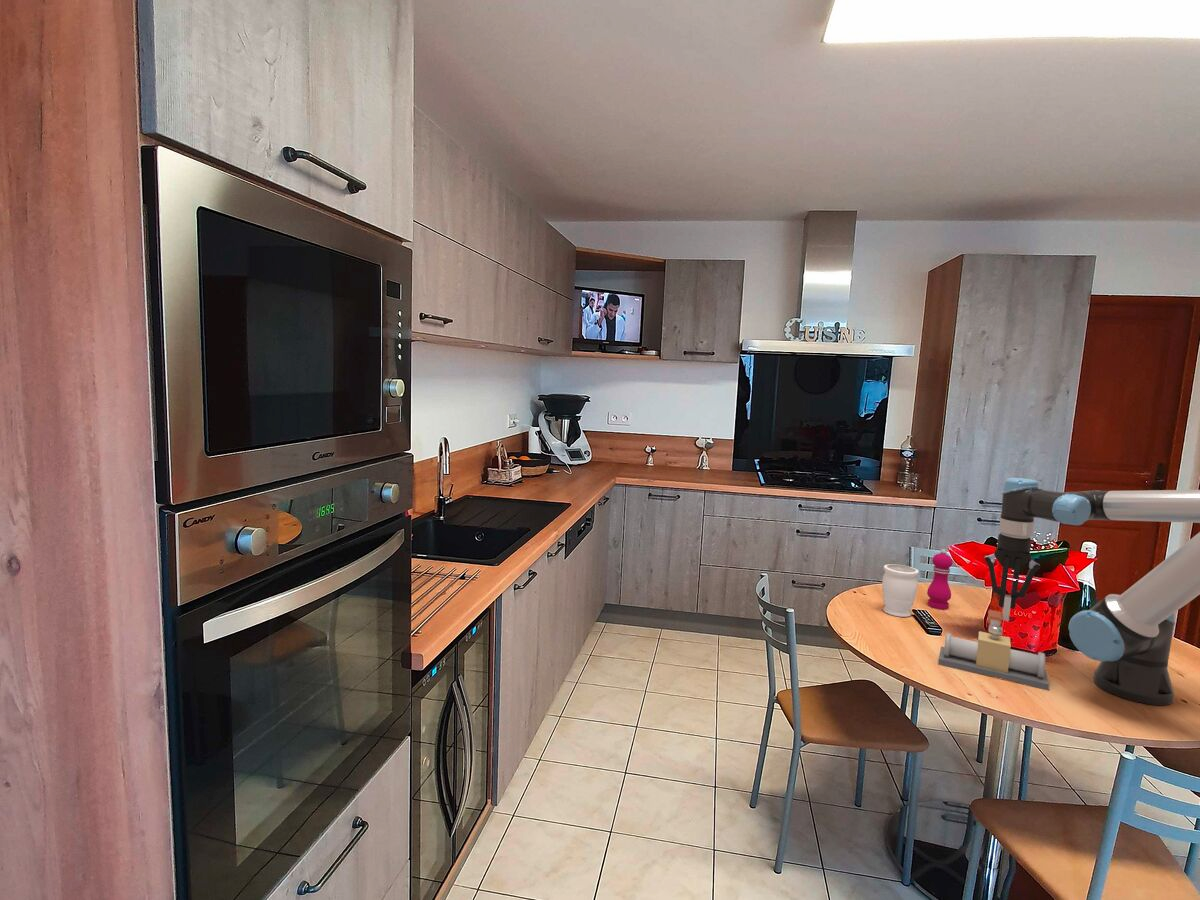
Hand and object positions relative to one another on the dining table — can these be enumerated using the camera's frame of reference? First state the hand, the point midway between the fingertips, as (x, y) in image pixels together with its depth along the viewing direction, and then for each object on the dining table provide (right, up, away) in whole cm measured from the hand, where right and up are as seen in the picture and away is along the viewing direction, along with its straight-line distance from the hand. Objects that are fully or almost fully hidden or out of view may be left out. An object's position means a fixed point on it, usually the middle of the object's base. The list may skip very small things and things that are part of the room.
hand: (1005, 619), depth 172 cm
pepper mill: (+4, -7, +42) cm, 42 cm away
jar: (-14, -7, +34) cm, 37 cm away
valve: (-8, -11, -7) cm, 16 cm away
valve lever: (-5, -1, -3) cm, 6 cm away
